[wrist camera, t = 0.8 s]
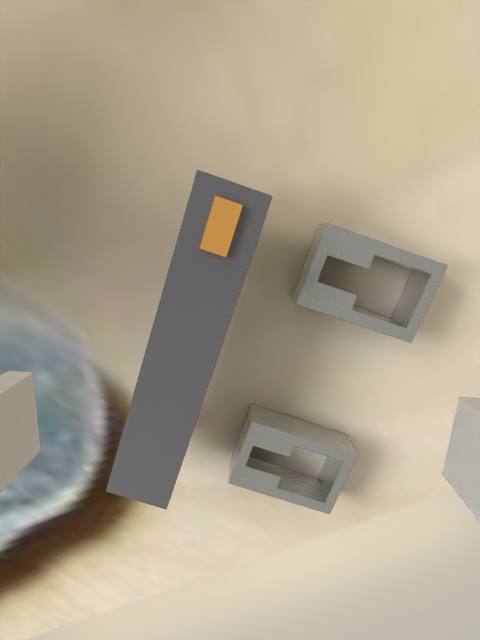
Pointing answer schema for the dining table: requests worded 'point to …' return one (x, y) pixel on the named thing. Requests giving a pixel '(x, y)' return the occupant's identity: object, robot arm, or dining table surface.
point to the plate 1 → (281, 438)
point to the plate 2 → (362, 254)
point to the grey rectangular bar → (187, 335)
